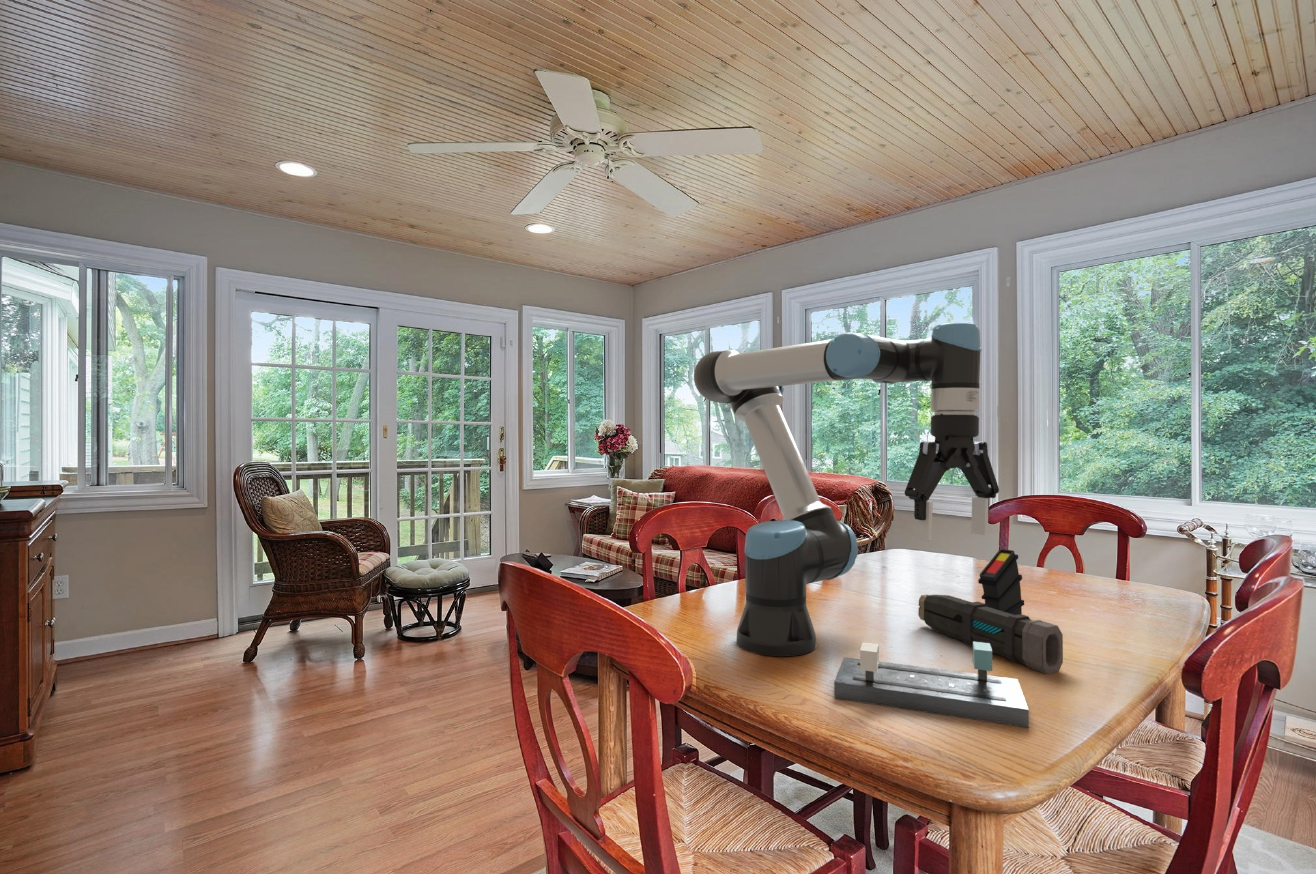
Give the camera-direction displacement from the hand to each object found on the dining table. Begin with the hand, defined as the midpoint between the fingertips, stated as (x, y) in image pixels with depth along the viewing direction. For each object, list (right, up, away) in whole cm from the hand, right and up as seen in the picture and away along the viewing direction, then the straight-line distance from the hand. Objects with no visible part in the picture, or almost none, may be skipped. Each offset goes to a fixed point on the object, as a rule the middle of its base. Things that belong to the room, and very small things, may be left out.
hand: (952, 536), depth 109 cm
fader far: (-1, -20, -12) cm, 23 cm away
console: (-9, -23, -12) cm, 27 cm away
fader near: (-18, -20, -12) cm, 30 cm away
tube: (+11, -23, +12) cm, 28 cm away
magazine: (+24, -23, +29) cm, 44 cm away
